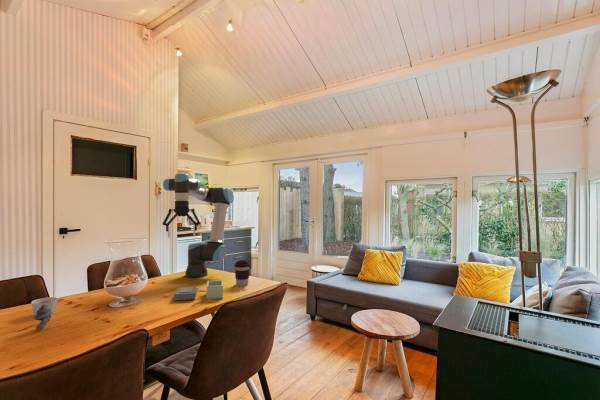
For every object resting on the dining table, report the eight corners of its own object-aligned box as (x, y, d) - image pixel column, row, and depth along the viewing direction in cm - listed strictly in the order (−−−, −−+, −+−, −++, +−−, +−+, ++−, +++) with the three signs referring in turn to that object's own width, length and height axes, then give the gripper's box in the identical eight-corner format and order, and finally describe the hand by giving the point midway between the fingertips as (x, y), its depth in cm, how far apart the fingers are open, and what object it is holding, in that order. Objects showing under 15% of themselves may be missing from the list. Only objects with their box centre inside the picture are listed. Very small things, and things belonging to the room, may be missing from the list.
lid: (178, 294, 166) (178, 286, 166) (197, 293, 168) (197, 285, 168) (174, 302, 153) (174, 293, 153) (194, 300, 156) (195, 292, 156)
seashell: (33, 329, 119) (34, 304, 119) (51, 325, 123) (51, 301, 123) (34, 333, 115) (35, 307, 115) (52, 329, 119) (52, 304, 119)
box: (207, 293, 168) (207, 280, 168) (222, 292, 170) (222, 279, 171) (206, 299, 157) (206, 286, 157) (222, 298, 159) (222, 285, 159)
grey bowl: (60, 312, 137) (60, 299, 137) (35, 319, 129) (35, 304, 129) (52, 309, 141) (52, 296, 141) (27, 315, 133) (28, 301, 134)
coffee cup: (248, 287, 181) (248, 262, 181) (232, 286, 181) (232, 262, 181) (251, 282, 191) (251, 259, 191) (236, 282, 191) (236, 259, 191)
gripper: (157, 200, 164) (157, 238, 164) (204, 200, 171) (204, 236, 171) (159, 200, 171) (159, 236, 171) (204, 200, 178) (204, 235, 178)
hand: (181, 236), depth 171 cm, fingers open, 13 cm apart
